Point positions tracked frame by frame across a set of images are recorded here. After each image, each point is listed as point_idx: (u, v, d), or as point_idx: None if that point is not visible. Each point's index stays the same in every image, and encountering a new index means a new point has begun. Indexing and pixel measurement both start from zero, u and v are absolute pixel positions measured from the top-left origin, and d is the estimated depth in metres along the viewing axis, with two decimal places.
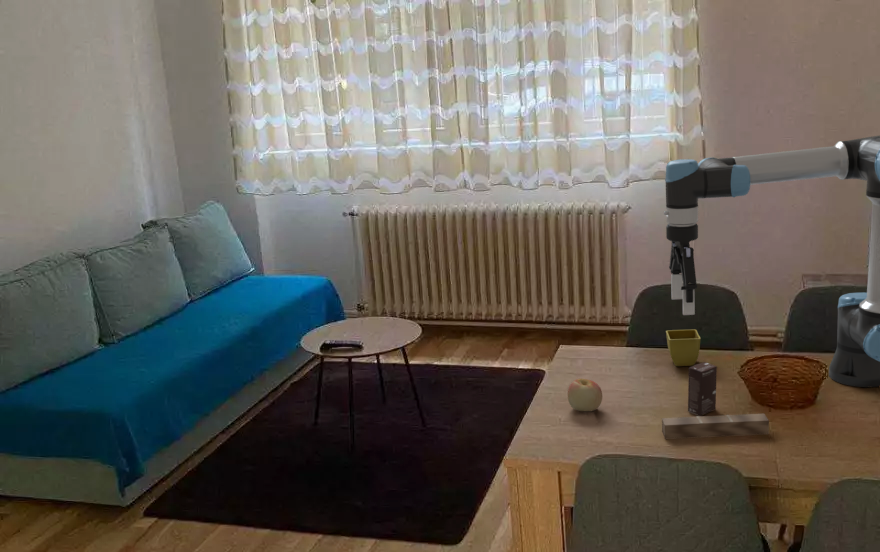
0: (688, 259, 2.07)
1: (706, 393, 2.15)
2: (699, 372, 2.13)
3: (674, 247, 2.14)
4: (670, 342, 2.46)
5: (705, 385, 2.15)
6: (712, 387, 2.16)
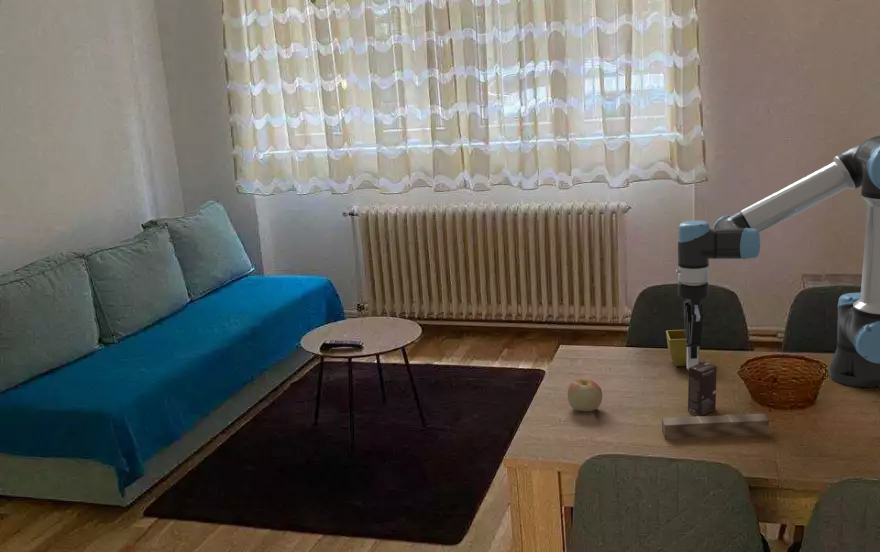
0: (697, 323, 2.18)
1: (705, 393, 2.15)
2: (699, 372, 2.13)
3: (685, 302, 2.23)
4: (670, 342, 2.46)
5: (705, 385, 2.15)
6: (712, 387, 2.16)
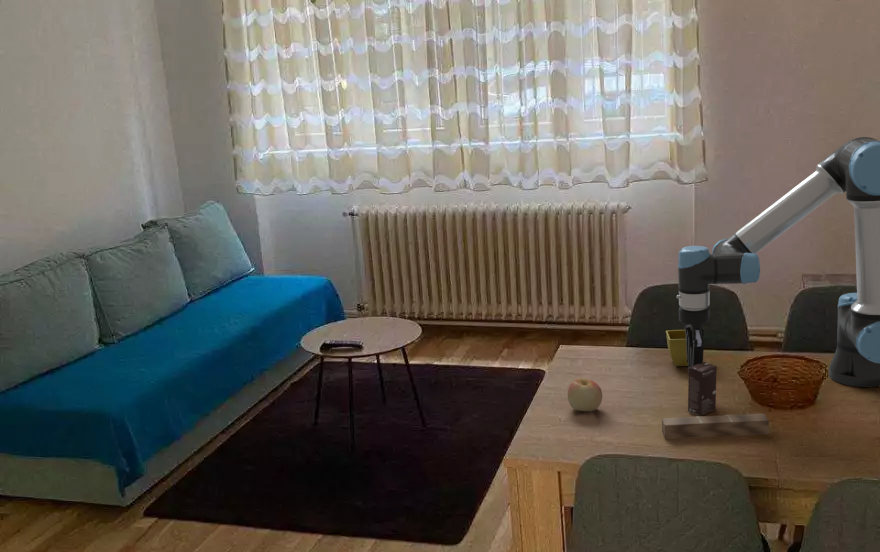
0: (698, 348, 2.19)
1: (706, 393, 2.15)
2: (699, 372, 2.13)
3: (686, 327, 2.24)
4: (670, 342, 2.46)
5: (705, 385, 2.15)
6: (712, 387, 2.16)
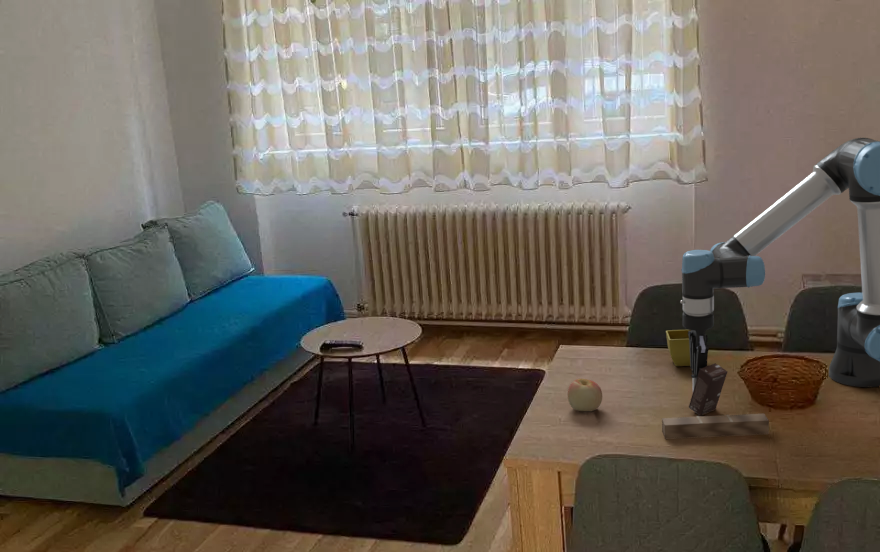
0: (702, 355, 2.14)
1: (711, 395, 2.14)
2: (709, 376, 2.11)
3: (690, 333, 2.19)
4: (670, 342, 2.46)
5: (712, 388, 2.13)
6: (718, 390, 2.15)
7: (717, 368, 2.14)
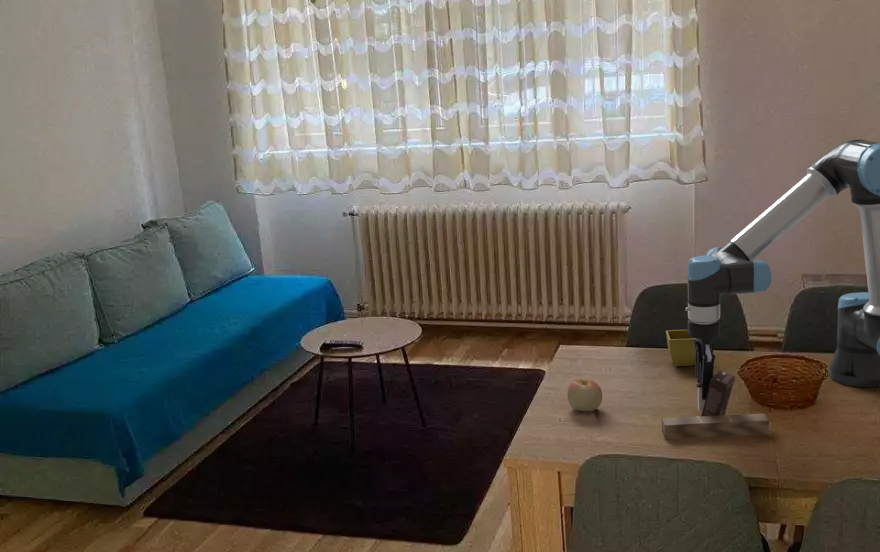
0: (708, 364, 2.08)
1: (724, 404, 2.08)
2: (724, 384, 2.05)
3: (695, 341, 2.13)
4: (670, 342, 2.46)
5: (726, 396, 2.07)
6: (728, 397, 2.10)
7: (725, 375, 2.09)
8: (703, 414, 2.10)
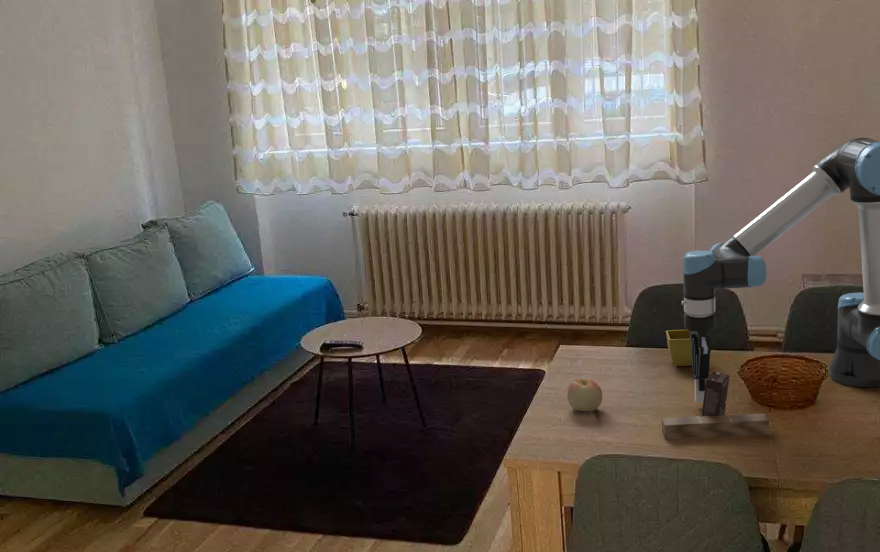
0: (704, 356, 2.13)
1: (722, 404, 2.08)
2: (719, 384, 2.05)
3: (691, 334, 2.18)
4: (670, 342, 2.46)
5: (723, 396, 2.07)
6: (725, 397, 2.10)
7: (719, 375, 2.09)
8: None
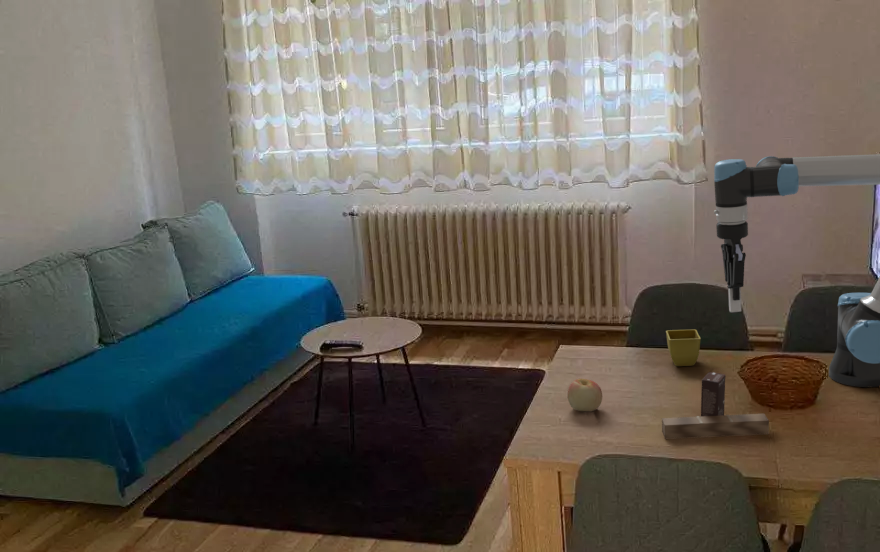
0: (739, 263, 2.15)
1: (720, 403, 2.08)
2: (715, 383, 2.06)
3: (724, 244, 2.20)
4: (670, 342, 2.46)
5: (720, 395, 2.08)
6: (723, 396, 2.10)
7: (715, 375, 2.10)
8: None
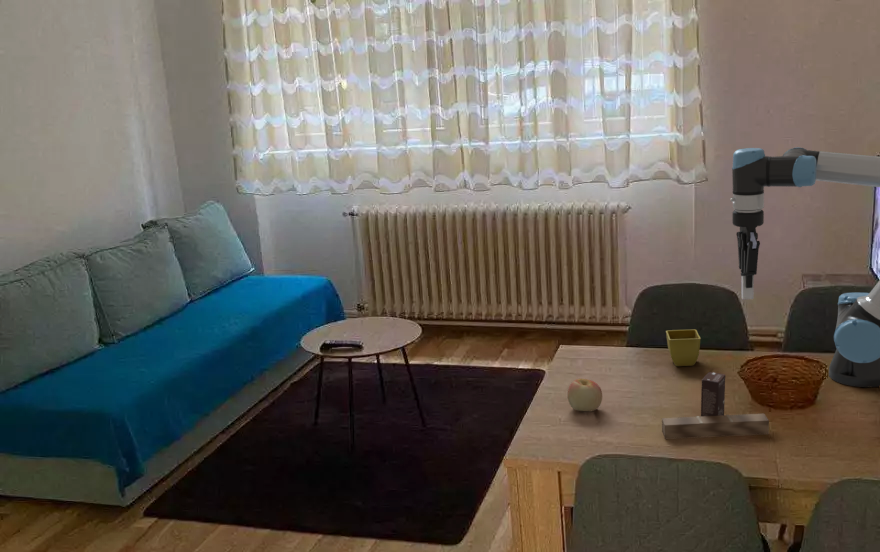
0: (753, 251, 2.18)
1: (720, 403, 2.08)
2: (715, 383, 2.06)
3: None
4: (670, 342, 2.46)
5: (720, 395, 2.08)
6: (723, 396, 2.10)
7: (715, 375, 2.10)
8: None
